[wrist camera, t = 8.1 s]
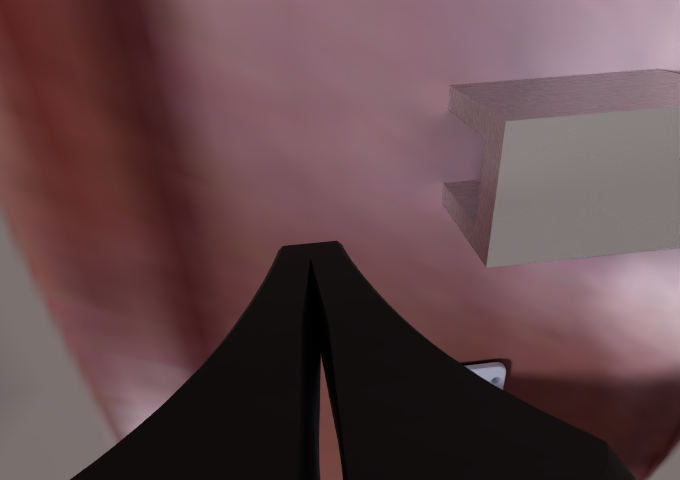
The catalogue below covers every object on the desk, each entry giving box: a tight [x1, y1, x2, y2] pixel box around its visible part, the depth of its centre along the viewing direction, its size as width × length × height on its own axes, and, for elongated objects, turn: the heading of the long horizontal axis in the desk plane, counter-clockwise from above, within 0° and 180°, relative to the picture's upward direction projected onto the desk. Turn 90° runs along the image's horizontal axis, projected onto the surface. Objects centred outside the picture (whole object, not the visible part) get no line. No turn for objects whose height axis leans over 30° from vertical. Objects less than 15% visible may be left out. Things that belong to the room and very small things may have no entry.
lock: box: [442, 69, 680, 267], centre depth 16 cm, size 8×5×5 cm, turn 93°
